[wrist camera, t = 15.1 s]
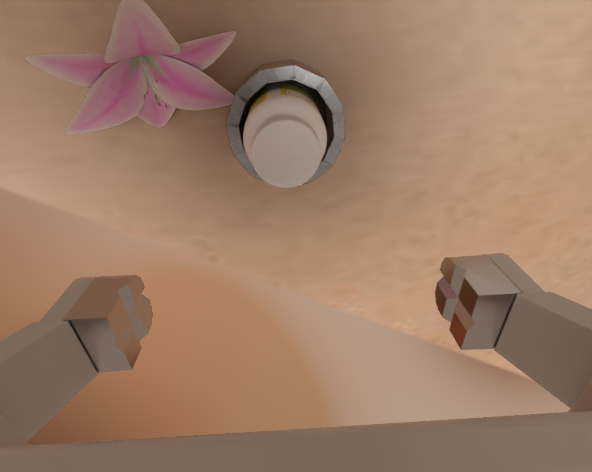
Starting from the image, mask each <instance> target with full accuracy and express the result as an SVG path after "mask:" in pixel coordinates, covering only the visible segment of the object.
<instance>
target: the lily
mask: <svg viewBox="0 0 592 472" xmlns="http://www.w3.org/2000/svg"><path fill="white" fill-rule="evenodd" d="M236 32H237V31H229V32H225V33H221V34H217V35H212V36H208V37H204V38H200V39H196V40H192V41H188V42H184V43H179V44H178V43H177V42H176V40H175V39H174V38H173V36H172V35H171V34H170V32H169V31H168V30H167V28H166V27H165V26H164V24H163V23H162V21H161V20H160V19H159V18H158V16H157V15H156V14H155V13H154V11H153V10H152V9H151V8H150V6H149V5H148V4H147V3H146V2H145V1H144V0H122V1H121V3H120V5H119V7H118V9H117V13H116V16H115V20H114V23H113V27H112V31H111V34H110V38H109V42H108V45H107V49H106V52H105V53H89V54H42V55H28V56H25V57H24V58H25V60H26V61H27V62H28V63H30V64H32V65H33V66H35V67H37V68H38V69H40V70H42V71H44V72H46V73H49V74H51V75H53V76H55V77H57V78H60V79H62V80H65V81H67V82H69V83H72V84H75V85H79V86H82V87H88V88H91V89H90V91H89V92H88V94H87V96H86V97H85V99H84V101H83V102H82V104H81V106H80V107H79V109H78V111H77V112H76V114H75V115H74V116H73V118H72V119H71V121H70V122H69V123H68V125H67V126H66V128H65V131H64V132H65V133H66V134H71V135H75V134H84V133H90V132H95V131H100V130H104V129H108V128H112V127H115V126H118V125H120V124H123V123H125V122H127V121H129V120H130V119H132V118H133V117H135V116H136V115H137V116H138V117H139V118H140V119H141V120H143V121H144V122H146V123H147V124H149V125H151V126H153V127H156V128H159V127H162V126H164V125H165V124H166V123H167V122H168V121H169V119H170V118H171V116H172V115H173V113H174V111H175V108H179V109H184V110H207V109H214V108H219V107H224V106H228V105H231V104H232V103H233V99H234V95H233V94H232V93H230V92H229V91H228V90H226V89H225V88H223V87H222V86H221V85H219V84H218V83H217V82H216V81H214V80H213V79H212V78H210V77H209V76H208V75H206V74H205V73H203V72H201V71H202V70H204V69H206V68H207V67H209V66H210V65H211V64H212V63H214V62H215V61H216V60H217V59H218V58H219V57H220V56H221V55H222V54H223V52H224V51H225V50H226V49H227V48H228V46H229V45H230V44H231V43H232V41H233V40H234V38H235V36H236Z"/></svg>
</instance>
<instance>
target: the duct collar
mask: <svg viewBox="0 0 592 472" xmlns="http://www.w3.org/2000/svg"><path fill="white" fill-rule="evenodd" d="M292 79H293V80H295V81H298V82H300V83H302V84H304V85H307V86H309V87H311V88H313V89H316V90H318V92H319V93H320V95H321V96H322V98H323V99H324V101H325V107H326V119H327V124H326V126H325V128H326V132H327V145H326V150H325V153H324V155H323V158H322V159H321V161H320V164H319V166H318V169H317V171H316V172H315V174H314V175H313V176H312V177H311V178H310V179H309V180H308V181H307V182H305V183H304V184H308V182H309V183H310V182H312V181H313V180H314V179H316V178H317V177H319V176H320V175H321V174H323V173H324V172H326V171H327V170H328V169H330V168H331V167H332V166H333V164H334V162H335V160H336V158H337V156H338V154H339V152H340V150H341V148H342V146H343V144H344V141H345V139H346V137H345V118H344V107H343V105H342V104H341V102H340V101H339V99H338V97H337V96H336V94H335V93H334V91H333V90H332V88H331V87H330V85H329V84H328V82H327V81H326V79H325V78H324V77H323V76H322V75H321V74H320V73H319V72H318V71H315V70H313V69H311V68H309V67H307V66H305V65H302V64H300V63H298V62H296V61H294V60H293V61H292V60H289V61H282V62H276V63H269V64H264V65H263V66H261V67H260V68H259V69H258V70H257V71H256V72H255V73H254V74H253V75H251V76H250V77H249V78H248V79H247V80H246V81H245V82H244V83H243V84H242V85H241V86H240V88H239V89H238V90H237V92H236V93H235V96H234V99H233V103H232V106H231V109H230V113H229V116H228V120H227V123H226V127H227V131H228V135H229V139H230V143H231V148H232V152H233V155H234V157H235V158H236V159H237V160H238V161H239V162H240V163H241V164H242V165H243V167H244V168H245V169H246V170H247V171H248V172H249V173H250V174H251V175H252V177H254V178H256V179H259V180H261V181H264V180H263V179H262V178H261V177H260V176H259V175H258V174H257V172H256V171H255V169H254V167H253V165H252V164H251V162H250V160H249V158H248V156H247V154H246V152H245V148H244V143H243V132H244V126H245V123H246V118H245V113H244V112H245V109H246V106H247V103H248V100H249V98H250V97H251V96H252V95H254V94H255V93H256V92H257V91H258V90H259V89H260V88H261V87H263V86H264V85H265V84H266V83H272V82H279V81H285V80H292ZM264 182H265V181H264Z"/></svg>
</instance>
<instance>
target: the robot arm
mask: <svg viewBox="0 0 592 472" xmlns="http://www.w3.org/2000/svg"><path fill="white" fill-rule="evenodd" d="M440 271H441V272H442V274H443V275H444V277H443V278H442V279H441V280H439V281H438V282H437V285H436V291H435V297H436V304H437V307H438V310H439V312H440V314H441V316H442V317H443V318H445V319H446V320H448V321H450V322H451V325H450V329H449V330H450V332H451V333H452V335H453V337H454V339H455V340H456V342H457V344H458V346H459V347H460V349H461V350H470V349H495V351H496V352H497V353H499V354H500V355H501V356H503V357H504V358H505V359H507V360H508V361H509V362H511V363H512V364H513V365H514V366H516V367H517V368H518V369H520V370H521V371H522V372H524V373H525V374H526V375H528V376H529V377H530V378H531V379H533V380H534V381H535V382H537V383H538V384H539V385H541V386H542V387H543V388H545V389H546V390H547V391H549V392H550V393H551V394H553V395H554V396H555V397H557V398H558V399H559V400H560V401H562V402H563V403H564V404H566V405H567V406H568V407H570V410H569V411H568V412H563V413H547V414H530V415H514V416H498V417H484V418H466V419H451V420H435V421H419V422H404V423H388V424H372V425H357V426H340V427H326V428H308V429H292V430H276V431H259V432H242V433H227V434H210V435H194V436H177V437H161V438H145V439H130V440H113V441H96V442H80V443H65V444H48V445H33V446H29V445H28V443H27V441H28V440H29V439H30V438H31V437H32V436H33V435H34V434H35V433H36V432H37V431H39V430H40V429H41V428H42V427H43V426H44V425H45V424H46V423H47V422H48V421H49V420H50V419H51V418H52V417H53V416H54V415H55V414H57V412H58V411H60V410H61V409H62V408H63V407H64V406H65V405H66V404H67V403H68V402H69V401H70V400H71V399H72V398H73V397H75V396H76V395H77V394H78V393H79V392H80V391H81V390H82V389H83V388H84V387H85V386H86V385H87V384H88V383H89V382H90V381H92V379H94V378H95V377H96V376H97V374H98V372H110V371H121V370H132V368H133V366H134V364H135V362H136V360H137V357H138V355H139V353H140V351H141V348H142V347H141V345H140V342H139V341H140V340H141V339H142V338H144V337H145V336H146V335H147V334H148V332H149V330H150V328H151V324H152V317H153V313H152V306H151V303H150V300H149V299H148V298H146V297H145V296H144V295H142V294H141V293H142V291H143V289H144V284H143V282H142V280H141V278H140V277H138V276H137V275H129V276H128V275H126V276H100V277H81V278H78V279H75V280H74V281H73V282H72V284H71V285H70V286H69V287H68V288H67V289H66V291H65V292H64V293H63V294H62V296H61V297H60V298H59V299H58V300H57V301H56V302H55V304H54V305H53V306H52V307H51V308H50V310H49V311H48V312H47V313H46V314H45V315H44V317H43V318H42V319H41V320H40V321H39V322H34V323H31V324H29V325H27V326H26V327H24V328H22V329H20V330H19V331H17V332H15V333H13V334H12V335H10V336H8V337H6V338H5V339H3V340H1V341H0V472H592V310H591V309H589V308H587V307H584V306H582V305H580V304H578V303H575V302H573V301H571V300H569V299H566V298H564V297H562V296H559V295H557V294H555V293H553V292H544V291H543V290H542V289H541V288H540V287H539V286H538V285H537V284H536V283H535V282H534V281H533V280H532V279H531V278H530V277H529V276H528V275H527V274H526V273H525V272H524V271H523V270H522V269H521V268H520V267H519V266H518V265H517V264H516V263H515V262H514V261H513V260H512V259H511V258H510V257H509V256H508V255H506V254H503V253H496V254H484V255H479V256H463V257H447V258H444V260H443V261H442V264H441V268H440Z"/></svg>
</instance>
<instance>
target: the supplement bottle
mask: <svg viewBox="0 0 592 472" xmlns="http://www.w3.org/2000/svg"><path fill="white" fill-rule="evenodd" d="M243 143H244V148H245V152H246V154H247V156H248V158H249V160H250V162H251V164H252V165H253V167H254V169H255V171H256V172H257V174H258V175H259V176H260V177H261V178H262V179H263V180H264V181H265V182H267V183H268V184H271V185H273V186H276V187H280V188H292V187H296V186H300V185H302V184H304V183H305V182H307V181H308V180H309V179H310V178H311V177H312V176H313V175H314V174H315V172H316V171H317V169H318V166H319V164H320V161H321V159H322V158H323V155H324V153H325V150H326V145H327V132H326V128H325V124H324V121H323V119H322V117H321V115H320V113H319V110H318V108H317V106H316V104H315V102H314V100H313V98H312V97H311V95H310V94H309V93H308V92H307V91H306V90H305V89H304V88H302V87H301V86H299V85H297V84H295V83H292V82H288V81H279V82H274V83H271V84H269V85H267V86H265V87H264V88H263V89H262V90H261V91H260V92H259V93H258V94H257V95H256V97H255V98H254V100H253V102H252V105H251V108H250V111H249V114H248V117H247V120H246V123H245V126H244V132H243Z"/></svg>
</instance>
